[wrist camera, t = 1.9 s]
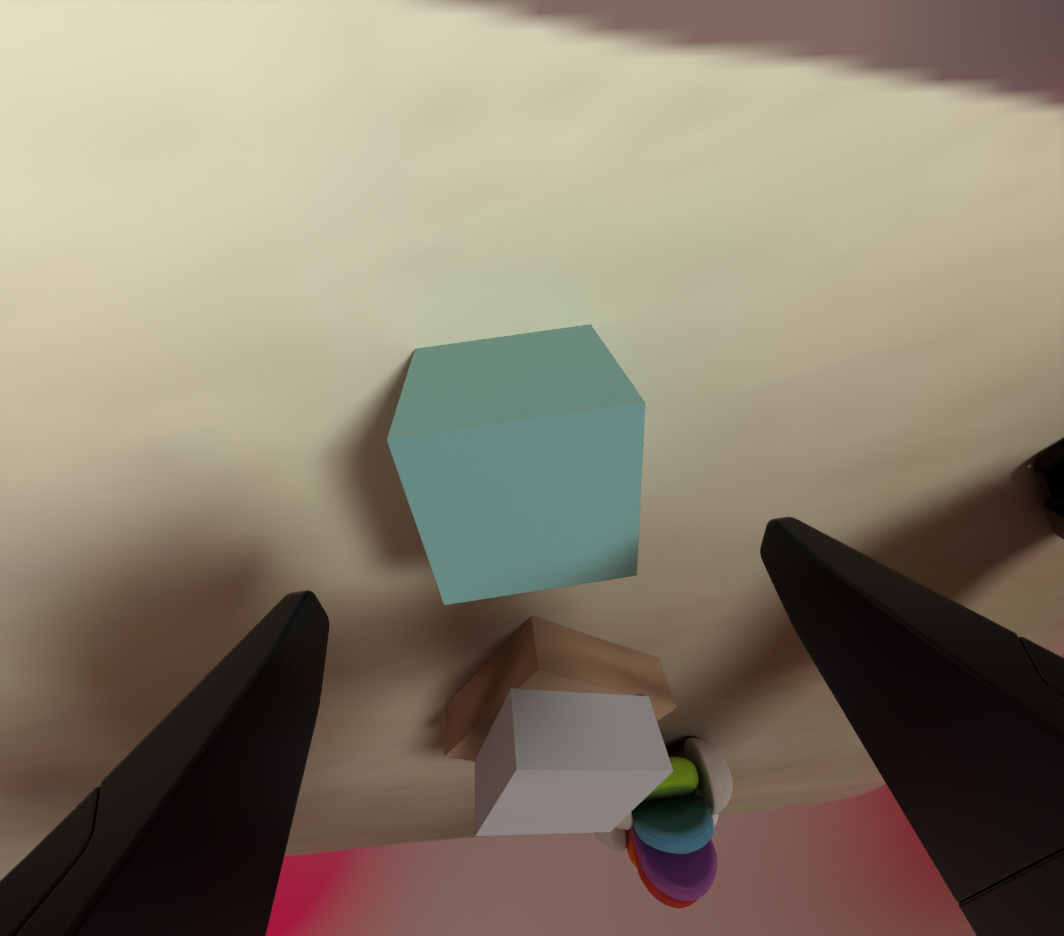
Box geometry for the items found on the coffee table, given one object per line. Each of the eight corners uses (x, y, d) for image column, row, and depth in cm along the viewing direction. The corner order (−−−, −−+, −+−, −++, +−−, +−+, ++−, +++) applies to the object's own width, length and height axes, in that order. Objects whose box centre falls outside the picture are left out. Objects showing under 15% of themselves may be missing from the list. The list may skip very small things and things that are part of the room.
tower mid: (510, 688, 18) (516, 769, 16) (648, 696, 20) (673, 771, 18) (475, 759, 22) (475, 836, 19) (595, 761, 23) (610, 831, 21)
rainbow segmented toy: (583, 795, 33) (607, 935, 27) (588, 735, 27) (620, 894, 21) (693, 779, 34) (740, 912, 28) (720, 717, 28) (786, 867, 22)
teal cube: (415, 347, 12) (386, 440, 8) (589, 323, 13) (644, 402, 9) (452, 486, 15) (444, 605, 11) (593, 466, 16) (636, 575, 11)
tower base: (530, 607, 20) (538, 669, 18) (655, 650, 23) (676, 707, 21) (447, 694, 24) (444, 756, 21) (566, 721, 27) (575, 778, 24)
